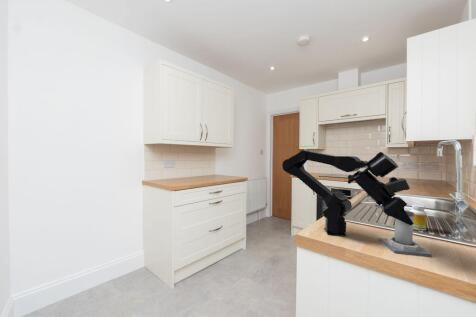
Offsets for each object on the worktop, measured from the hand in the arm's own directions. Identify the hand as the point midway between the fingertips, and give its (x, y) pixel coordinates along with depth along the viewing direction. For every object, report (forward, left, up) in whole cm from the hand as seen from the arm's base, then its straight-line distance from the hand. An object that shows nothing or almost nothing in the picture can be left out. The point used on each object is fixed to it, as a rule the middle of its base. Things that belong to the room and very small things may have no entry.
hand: (409, 222), depth 68 cm
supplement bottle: (+16, +23, -9) cm, 29 cm away
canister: (-1, 0, -8) cm, 8 cm away
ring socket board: (-1, 0, -9) cm, 9 cm away
